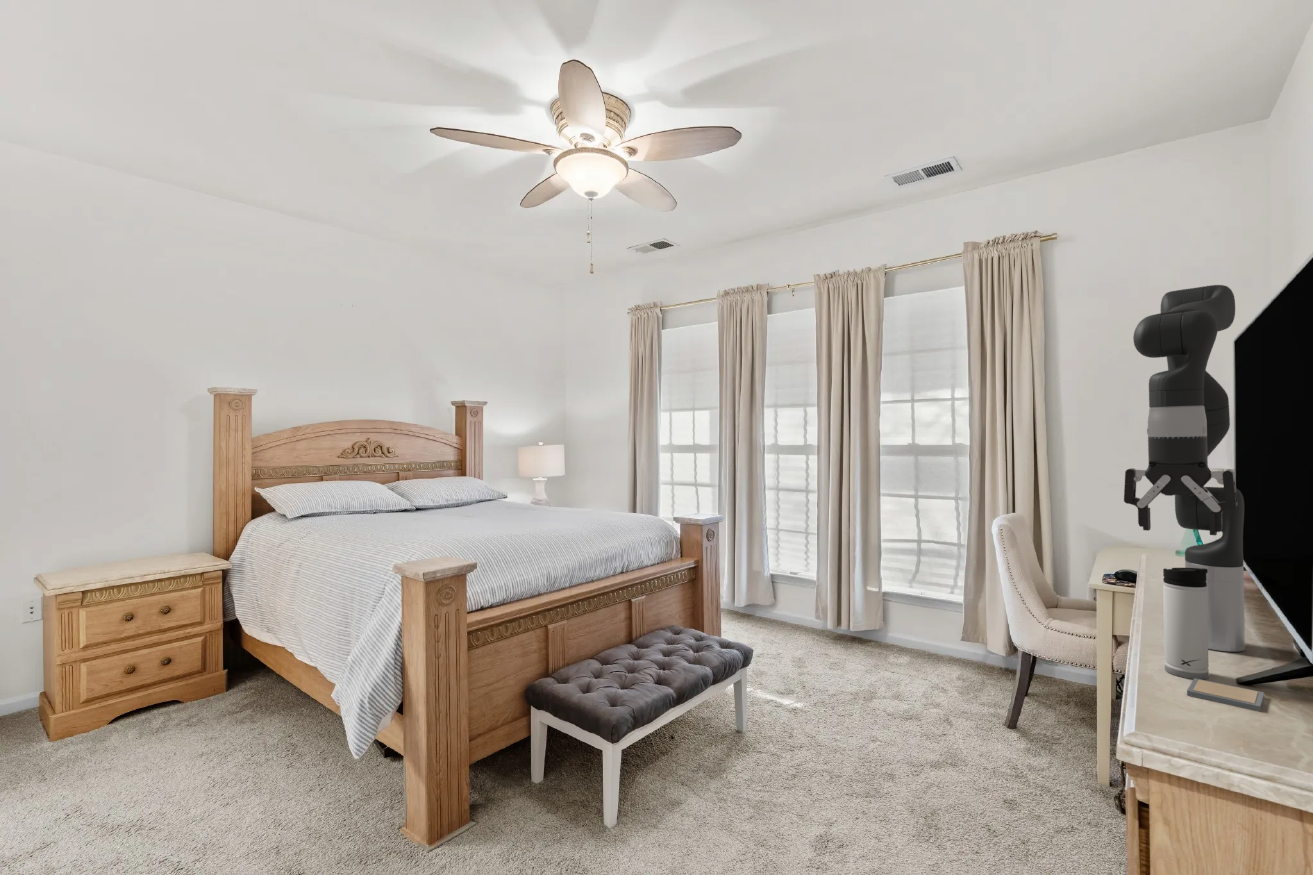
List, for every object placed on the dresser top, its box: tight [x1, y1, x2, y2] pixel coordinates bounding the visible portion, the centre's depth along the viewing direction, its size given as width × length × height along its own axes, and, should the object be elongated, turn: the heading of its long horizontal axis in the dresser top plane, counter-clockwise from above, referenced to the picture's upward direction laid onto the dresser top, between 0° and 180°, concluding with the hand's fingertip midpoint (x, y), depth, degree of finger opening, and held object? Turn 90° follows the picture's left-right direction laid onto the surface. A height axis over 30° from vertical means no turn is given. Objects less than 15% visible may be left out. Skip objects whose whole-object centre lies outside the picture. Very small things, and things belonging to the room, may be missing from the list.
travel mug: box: [1162, 567, 1210, 680], centre depth 116 cm, size 6×7×20 cm
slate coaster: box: [1186, 678, 1265, 712], centre depth 106 cm, size 8×9×1 cm
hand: (1178, 532), depth 104 cm, fingers open, 8 cm apart
